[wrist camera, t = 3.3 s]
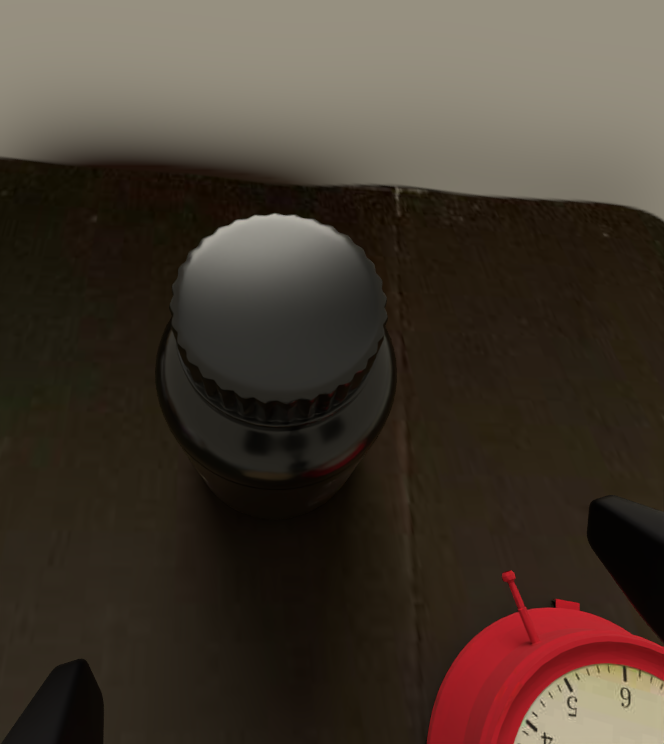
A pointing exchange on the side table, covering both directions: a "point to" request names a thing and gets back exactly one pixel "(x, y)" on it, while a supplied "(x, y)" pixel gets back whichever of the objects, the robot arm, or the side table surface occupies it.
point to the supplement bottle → (276, 363)
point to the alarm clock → (552, 682)
